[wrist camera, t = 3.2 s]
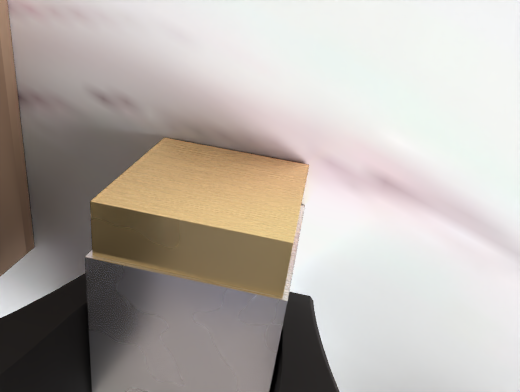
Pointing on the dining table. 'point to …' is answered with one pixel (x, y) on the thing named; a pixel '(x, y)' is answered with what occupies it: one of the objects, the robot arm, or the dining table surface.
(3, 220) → the wooden tray
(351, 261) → the dining table surface
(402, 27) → the dining table surface
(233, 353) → the white yellow block
